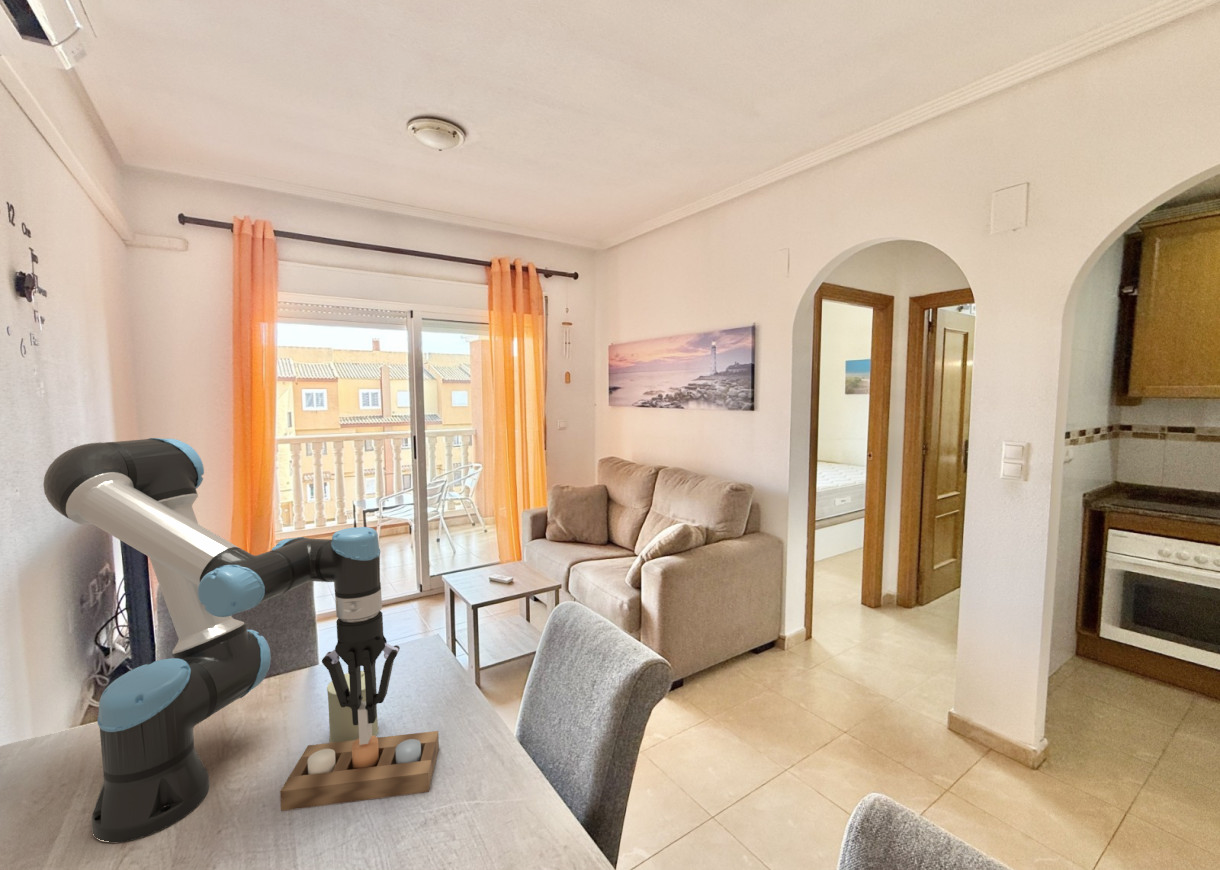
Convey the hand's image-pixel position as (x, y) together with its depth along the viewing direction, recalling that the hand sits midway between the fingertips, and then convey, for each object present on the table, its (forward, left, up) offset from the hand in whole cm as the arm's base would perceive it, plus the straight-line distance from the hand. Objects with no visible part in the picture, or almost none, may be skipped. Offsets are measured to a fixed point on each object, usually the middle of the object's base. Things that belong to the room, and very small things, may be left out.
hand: (365, 739), depth 96 cm
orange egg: (0, 0, -5) cm, 5 cm away
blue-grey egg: (+7, 0, -7) cm, 10 cm away
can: (-6, +13, -8) cm, 16 cm away
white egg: (-8, 0, -7) cm, 10 cm away
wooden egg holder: (0, 0, -7) cm, 7 cm away
